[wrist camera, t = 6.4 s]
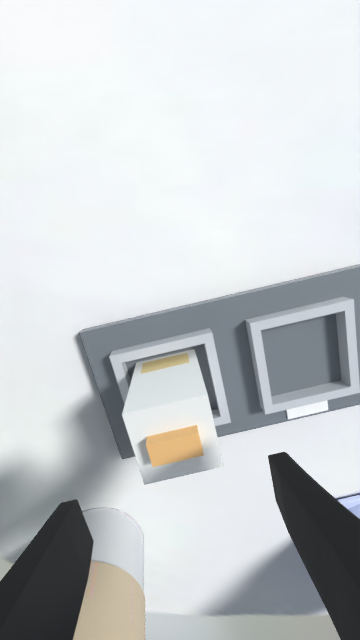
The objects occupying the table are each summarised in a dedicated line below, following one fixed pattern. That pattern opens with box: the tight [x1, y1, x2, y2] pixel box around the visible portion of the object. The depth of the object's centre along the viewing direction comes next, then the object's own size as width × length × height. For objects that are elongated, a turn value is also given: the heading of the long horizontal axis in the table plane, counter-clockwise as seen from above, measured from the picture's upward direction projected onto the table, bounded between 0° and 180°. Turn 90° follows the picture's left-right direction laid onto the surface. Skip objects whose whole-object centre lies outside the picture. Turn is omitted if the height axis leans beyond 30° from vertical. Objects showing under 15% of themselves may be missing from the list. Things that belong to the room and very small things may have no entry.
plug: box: [122, 349, 224, 484], centre depth 15 cm, size 4×4×7 cm
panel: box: [80, 265, 360, 459], centre depth 18 cm, size 10×19×2 cm, turn 103°
